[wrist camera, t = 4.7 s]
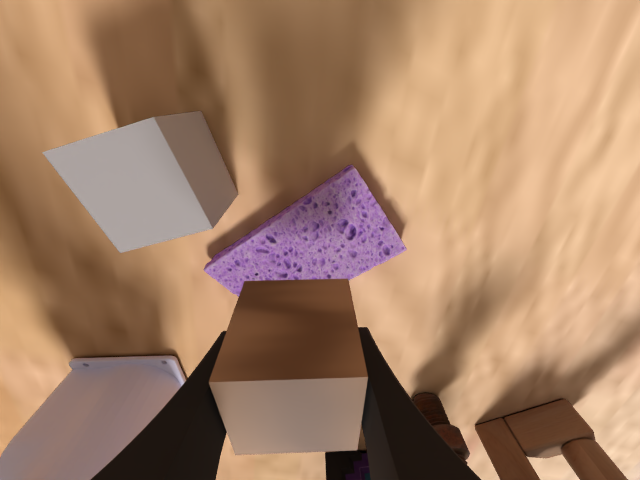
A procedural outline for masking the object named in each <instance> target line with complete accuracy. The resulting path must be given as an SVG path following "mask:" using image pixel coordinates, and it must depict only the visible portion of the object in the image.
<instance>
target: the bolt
mask: <svg viewBox="0 0 640 480" xmlns="http://www.w3.org/2000/svg"><path fill="white" fill-rule="evenodd" d="M413 402H414V404H415V405H416V406H417V408H418V409H419V410H420V411H421V413H422V414H423V415H424V416H425V418H426V419H427V420H428V421H429V423H430V424H431V425H432V426H433V427H434V429H435V430H436V431H437V432H438V433H439V435H440V436H441V437H442V438H443V439H444V440H445V441H446V442H447V444H448V445H449V446H450V447H451V448H452V449H453V450H454V451H455V452H456V454H457V455H458V456H459V457H460V458H461V459H462V460H463V461H464V462H465V463H466V465H467V462H466V461H465V460H466V459H467V458H468V457H469V455H470V453H469V450H468V448H467V446H466V443H465V441H464V439H463V437H462V434H461V432H460V430H459V428H457V427H455V426H453V425H451V424H450V422H449V420H448V417H447V415H446V413H445V410H444V408H443V406H442V403H441V401H440V399H439V398H438V397H437V396H435V395H433V394H429V393H426V394H418V395H416V396H415V397H414V401H413ZM468 467H469V466H468Z"/></svg>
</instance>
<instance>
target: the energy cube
mask: <svg viewBox="0 0 640 480" xmlns="http://www.w3.org/2000/svg"><path fill="white" fill-rule="evenodd" d="M325 460H326V480H371V477H370V470H369V462H368V455H367V453H362V454H361V453H360V451H359V450H358V449H357V450H351V451H336V452H329V453H325Z"/></svg>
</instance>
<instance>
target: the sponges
mask: <svg viewBox="0 0 640 480" xmlns="http://www.w3.org/2000/svg"><path fill="white" fill-rule="evenodd" d="M405 250H407V248H406V247H405V245H404V244H403V242H402V240H401V238H400V237H399V235H398V233H397V232H396V230H395V229H394V227H393V225H392V224H391V222H390V221H389V220H388V218H387V216H386V215H385V213H384V211H383V210H382V208H381V207H380V205H379V204H378V202H377V201H376V199H375V198H374V196H373V195H372V193H371V192H370V190H369V188H368V186H367V185H366V183H365V182H364V180H363V179H362V178H361V176H360V175H359V173H358V171H357V170H356V168H354V166H353V165H348V166H347V167H346V168H344V169H343V170H342V171H340V172H339V173H337V174H336V175H335V176H333V177H331V178H330V179H328V180H327V181H326V182H325V183H323V184H321V185H319V186H318V187H316V188H315V189H314V190H312V191H311V192H310V193H308V194H307V195H306V196H304V197H302V198H301V199H299V200H298V201H296V202H294V203H293V204H292V205H291V206H288V207H287V208H285V209H284V210H283V211H281V212H280V213H279V214H278V215H276V216H273V217H272V218H270V219H269V220H267V221H266V222H264V223H263V224H262V225H260V226H259V227H258V228H257V229H254V230H253V231H251V232H250V233H249V234H247V235H246V236H244V237H242V238H241V239H239V240H238V241H236V242H235V243H234V244H232V245H230V246H229V247H227V248H225V249H224V250H222V251H221V252H219V253H218V254H216V255H215V256H214V257H213V259H212V260H211V261H210V262H208V263H207V264H206V265H205V268H204V271H205V272H206V273H208V274H209V275H210V276H211V277H212V278H214V279H216V280H217V281H218V282H219V283H220V284H222V285H223V286H224V287H225V288H226V289H228V290H229V291H230V292H232V293H233V294H237V295H238V297H239V295H240V292H241V289H242V287H243V284H244V281H263V280H306V279H348V281H349V280H350V279H352V278H354V277H356V276H359V275H360V274H361V273H364V272H366V271H368V270H370V269H371V268H372V267H374V266H376V265H378V264H382V263H384V262H386V261H388V260H389V259H391V258H393V257H395V256H396V255H399V254H400V253H402V252H404V251H405Z"/></svg>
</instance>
